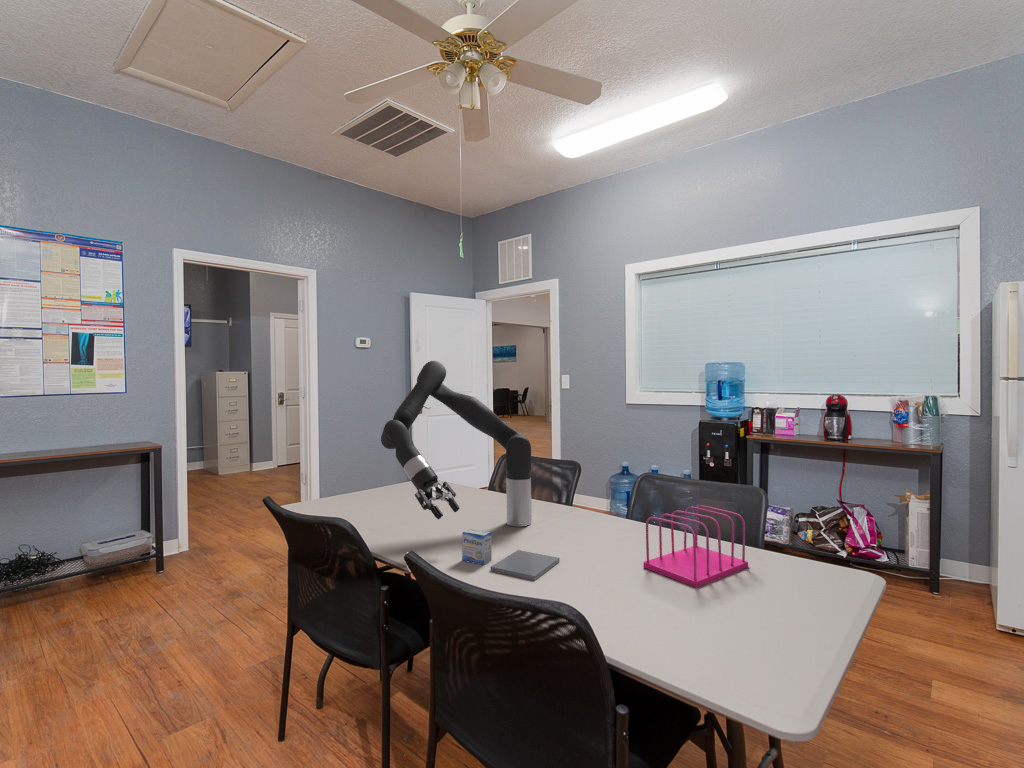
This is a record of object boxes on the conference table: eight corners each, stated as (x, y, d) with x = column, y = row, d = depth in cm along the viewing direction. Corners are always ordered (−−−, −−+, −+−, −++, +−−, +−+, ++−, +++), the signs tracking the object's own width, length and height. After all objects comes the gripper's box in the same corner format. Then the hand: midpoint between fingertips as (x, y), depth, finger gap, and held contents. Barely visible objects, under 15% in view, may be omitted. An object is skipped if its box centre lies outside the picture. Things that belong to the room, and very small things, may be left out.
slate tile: (518, 553, 156) (518, 550, 156) (559, 561, 149) (559, 557, 149) (490, 570, 142) (490, 566, 142) (534, 580, 135) (534, 576, 135)
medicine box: (461, 560, 150) (461, 531, 150) (469, 556, 154) (469, 528, 154) (484, 565, 146) (484, 535, 146) (492, 560, 150) (491, 531, 150)
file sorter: (642, 568, 144) (642, 513, 144) (695, 550, 158) (695, 501, 158) (696, 588, 130) (696, 528, 130) (748, 567, 144) (748, 512, 144)
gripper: (428, 476, 168) (456, 515, 163) (398, 484, 156) (427, 527, 150) (440, 462, 165) (469, 501, 160) (411, 469, 153) (441, 512, 148)
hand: (449, 514), depth 155 cm, fingers open, 8 cm apart
